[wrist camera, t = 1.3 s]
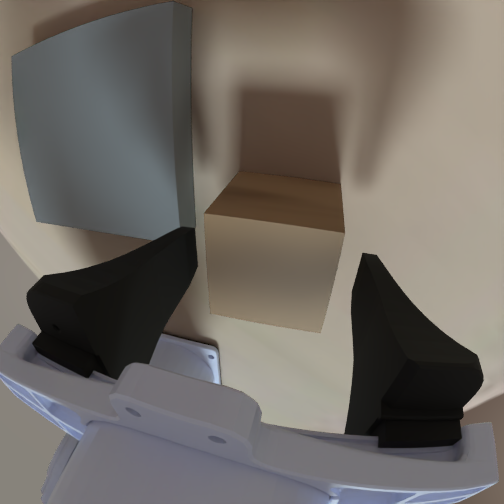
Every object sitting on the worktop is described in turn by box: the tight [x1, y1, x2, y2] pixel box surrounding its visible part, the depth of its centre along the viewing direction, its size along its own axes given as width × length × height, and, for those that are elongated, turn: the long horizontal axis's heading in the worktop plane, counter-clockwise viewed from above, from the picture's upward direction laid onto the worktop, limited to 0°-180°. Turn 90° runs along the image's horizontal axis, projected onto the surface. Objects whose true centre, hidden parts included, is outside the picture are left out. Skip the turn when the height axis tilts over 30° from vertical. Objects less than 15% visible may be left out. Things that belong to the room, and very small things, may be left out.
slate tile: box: [12, 1, 196, 240], centre depth 14 cm, size 12×12×2 cm
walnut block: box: [204, 171, 345, 333], centre depth 14 cm, size 5×5×5 cm
